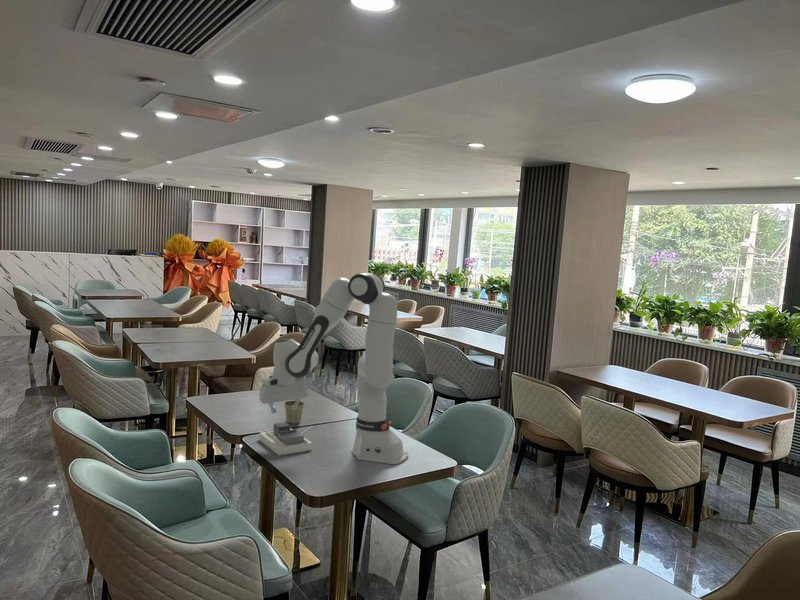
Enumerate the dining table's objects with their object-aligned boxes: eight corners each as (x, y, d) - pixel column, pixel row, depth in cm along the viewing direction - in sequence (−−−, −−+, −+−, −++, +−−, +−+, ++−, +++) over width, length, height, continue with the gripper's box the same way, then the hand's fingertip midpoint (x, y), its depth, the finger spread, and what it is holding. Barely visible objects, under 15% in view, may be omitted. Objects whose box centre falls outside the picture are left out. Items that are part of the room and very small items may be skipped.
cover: (303, 441, 230) (304, 433, 230) (284, 444, 226) (285, 436, 225) (296, 436, 236) (296, 428, 236) (277, 439, 231) (277, 431, 231)
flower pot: (292, 426, 260) (293, 407, 259) (278, 421, 265) (279, 402, 265) (308, 422, 267) (309, 403, 267) (293, 417, 273) (294, 399, 272)
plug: (289, 442, 238) (290, 425, 237) (277, 444, 235) (278, 427, 234) (284, 439, 242) (285, 422, 241) (273, 440, 239) (273, 423, 239)
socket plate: (311, 450, 231) (312, 440, 231) (278, 455, 223) (279, 445, 223) (290, 435, 247) (291, 426, 247) (259, 439, 239) (259, 430, 239)
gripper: (304, 373, 247) (304, 405, 248) (257, 379, 235) (257, 412, 236) (310, 376, 242) (310, 409, 243) (263, 382, 230) (263, 416, 231)
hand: (284, 411), depth 240 cm, fingers open, 8 cm apart
